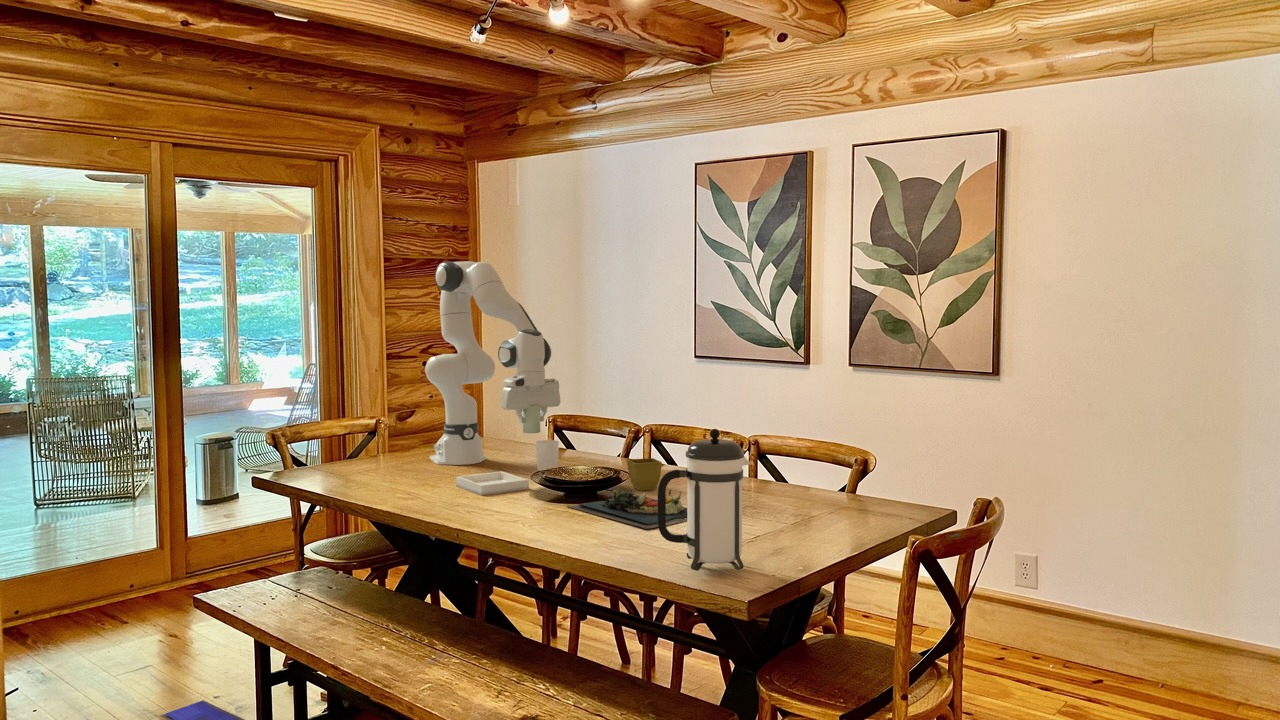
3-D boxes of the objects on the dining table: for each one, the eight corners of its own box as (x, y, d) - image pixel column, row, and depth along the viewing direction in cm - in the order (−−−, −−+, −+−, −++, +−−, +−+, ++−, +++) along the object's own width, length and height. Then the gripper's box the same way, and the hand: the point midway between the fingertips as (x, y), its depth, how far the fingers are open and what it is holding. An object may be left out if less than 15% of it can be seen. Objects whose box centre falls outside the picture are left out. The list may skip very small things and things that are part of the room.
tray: (456, 486, 296) (456, 476, 296) (501, 480, 305) (501, 471, 305) (481, 495, 281) (481, 485, 281) (528, 489, 291) (528, 479, 290)
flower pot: (626, 487, 293) (626, 459, 293) (653, 485, 296) (653, 457, 295) (635, 493, 285) (635, 463, 284) (662, 491, 288) (662, 462, 287)
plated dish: (722, 514, 260) (722, 488, 259) (647, 531, 241) (647, 503, 240) (637, 495, 285) (637, 472, 285) (564, 509, 267) (564, 484, 266)
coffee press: (709, 550, 219) (709, 422, 217) (762, 564, 207) (763, 428, 205) (655, 564, 207) (655, 429, 205) (709, 580, 195) (709, 436, 194)
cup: (519, 431, 307) (519, 404, 306) (535, 430, 310) (534, 403, 310) (528, 433, 302) (528, 405, 302) (543, 432, 306) (543, 404, 305)
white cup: (557, 472, 319) (557, 443, 319) (534, 472, 319) (534, 443, 319) (560, 468, 327) (559, 440, 326) (537, 468, 327) (537, 440, 327)
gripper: (554, 377, 314) (554, 418, 315) (498, 380, 302) (499, 423, 303) (563, 378, 309) (564, 420, 310) (507, 381, 297) (508, 425, 298)
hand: (531, 422), depth 306 cm, fingers closed on cup, 6 cm apart
